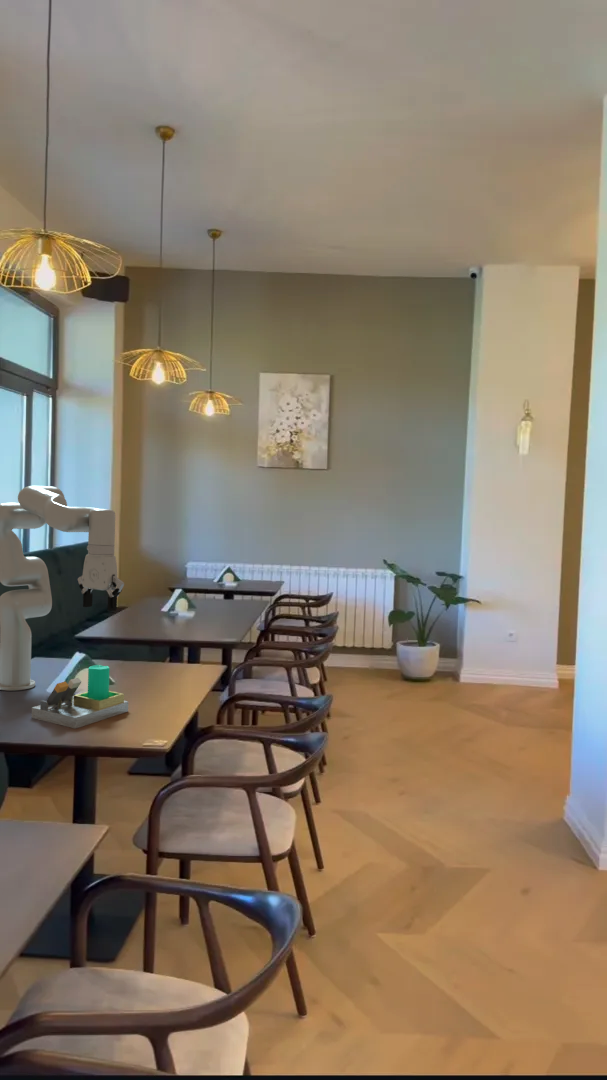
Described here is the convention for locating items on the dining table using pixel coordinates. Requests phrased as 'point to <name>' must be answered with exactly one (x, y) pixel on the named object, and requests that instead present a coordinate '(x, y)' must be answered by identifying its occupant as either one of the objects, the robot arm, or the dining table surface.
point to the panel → (81, 710)
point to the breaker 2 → (70, 690)
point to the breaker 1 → (57, 693)
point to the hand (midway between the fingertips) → (99, 608)
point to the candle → (98, 682)
